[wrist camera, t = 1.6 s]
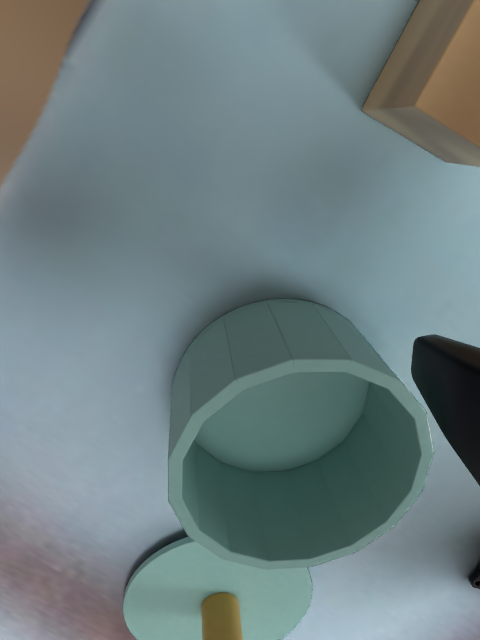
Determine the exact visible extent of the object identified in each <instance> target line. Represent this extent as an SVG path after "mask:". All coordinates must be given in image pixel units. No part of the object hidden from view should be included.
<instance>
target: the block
mask: <svg viewBox="0 0 480 640" xmlns="http://www.w3.org/2000/svg"><path fill="white" fill-rule="evenodd" d="M362 111H363V112H364V113H366V114H367V115H369V116H371V117H372V118H374V119H376V120H377V121H379V122H381V123H382V124H384V125H385V126H387V127H389V128H390V129H392V130H394V131H395V132H397V133H399V134H400V135H402V136H404V137H405V138H407V139H408V140H410V141H412V142H413V143H415V144H417V145H418V146H420V147H422V148H423V149H425V150H427V151H428V152H430V153H431V154H433V155H435V156H436V157H438V158H440V159H441V160H443V161H445V162H448V163H455V164H462V165H470V166H477V167H480V0H420V1H419V3H418V4H417V6H416V8H415V10H414V12H413V14H412V16H411V18H410V19H409V21H408V23H407V25H406V27H405V29H404V31H403V33H402V34H401V36H400V38H399V40H398V42H397V44H396V46H395V48H394V49H393V51H392V53H391V55H390V57H389V59H388V61H387V63H386V64H385V66H384V68H383V70H382V72H381V74H380V76H379V77H378V79H377V81H376V83H375V85H374V87H373V89H372V91H371V92H370V94H369V96H368V98H367V100H366V102H365V104H364V106H363V107H362Z"/></svg>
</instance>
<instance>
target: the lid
mask: <svg viewBox="0 0 480 640" xmlns="http://www.w3.org/2000/svg"><path fill="white" fill-rule="evenodd" d="M312 590H313V589H312V580H311V577H310V573H309V570H308V568H307V567H305V568H288V569H270V570H266V569H260V568H256V567H252V566H247V565H243V564H239V563H235V562H231V561H227V560H223V559H221V558H219V557H218V556H217V555H215V554H214V553H212V552H211V551H209V550H208V549H206V548H205V547H203V546H202V545H200V544H199V543H198V542H196V541H195V540H193V539H192V538H190V537H186V538H183V539H181V540H178V541H176V542H173V543H171V544H169V545H167V546H165V547H163V548H162V549H160V550H159V551H157V552H156V553H154V554H153V555H151V556H150V557H149V558H148V559H146V560H145V561H144V562H143V563H142V564H141V565H140V566H139V567H138V569H137V570H136V571H135V572H134V574H133V575H132V577H131V578H130V580H129V583H128V585H127V587H126V591H125V595H124V601H123V613H124V619H125V622H126V624H127V627H128V628H129V630H130V632H131V633H132V635H133V636H134V637H135V638H136V639H137V640H281V639H282V638H283V637H285V636H286V635H287V634H289V633H290V632H291V631H292V630H293V629H294V628H295V627H296V626H297V625H298V624H299V623H300V621H301V620H302V618H303V617H304V616H305V614H306V612H307V610H308V608H309V606H310V602H311V599H312Z"/></svg>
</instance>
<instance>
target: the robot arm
mask: <svg viewBox="0 0 480 640" xmlns="http://www.w3.org/2000/svg"><path fill="white" fill-rule="evenodd" d="M411 374H412V377H413V380H414V382H415V384H416V386H417V388H418V389H419V391H420V393H421V395H422V397H423V398H424V400H425V402H426V404H427V406H428V407H429V409H430V411H431V413H432V415H433V416H434V418H435V420H436V422H437V424H438V425H439V427H440V429H441V431H442V432H443V434H444V436H445V437H446V439H447V440H448V442H449V443H450V445H451V446H452V448H453V449H454V450H455V452H456V453H457V455H458V456H459V457H460V459H461V460H462V462H463V463H464V464H465V466H466V467H467V469H468V470H469V472H470V473H471V474H472V476H473V477H474V479H475V480H476V481H477V483H478V484H479V486H480V348H478V347H475V346H471V345H468V344H465V343H462V342H458V341H455V340H452V339H449V338H445V337H442V336H439V335H427V336H421V337H418V338H416V339H415V341H414V345H413V355H412V365H411ZM469 582H470V584H471V585H472V587H474V588H478V589H480V567H479V568H478V569H477V570H476V571H475V572H474V573H473V574H472V575H471V576H470V578H469Z"/></svg>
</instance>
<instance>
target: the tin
mask: <svg viewBox="0 0 480 640" xmlns="http://www.w3.org/2000/svg"><path fill="white" fill-rule="evenodd" d="M433 455H434V449H433V444H432V438H431V433H430V427H429V422H428V417H427V412H426V410H425V409H424V408H423V407H422V406H421V404H420V403H419V402H418V401H417V400H416V398H415V397H414V396H413V395H412V394H411V393H410V391H409V390H408V389H407V388H406V387H405V385H404V384H403V383H402V382H401V381H400V380H399V378H398V377H397V376H396V375H395V374H394V372H393V371H392V370H391V369H390V368H389V366H388V365H387V364H386V363H385V362H384V361H383V359H382V358H381V357H380V356H379V355H378V353H377V352H376V351H375V350H374V349H373V348H372V346H371V345H370V344H369V343H368V342H367V340H366V339H365V338H364V337H363V336H362V335H361V333H360V332H359V331H358V330H357V329H356V328H355V326H354V325H353V324H352V323H351V322H350V320H348V319H346V318H344V317H343V316H341V315H340V314H338V313H337V312H335V311H333V310H331V309H329V308H327V307H324V306H322V305H319V304H316V303H313V302H308V301H303V300H295V299H271V300H265V301H259V302H255V303H252V304H248V305H245V306H242V307H240V308H237V309H235V310H233V311H230V312H229V313H227V314H225V315H223V316H222V317H220V318H218V319H217V320H215V321H214V322H213V323H211V324H210V325H209V326H207V327H206V328H205V329H204V330H203V331H202V332H201V333H200V334H199V335H198V336H197V337H196V338H195V339H194V341H193V342H192V343H191V344H190V346H189V347H188V348H187V350H186V352H185V353H184V355H183V357H182V359H181V361H180V363H179V366H178V368H177V371H176V374H175V377H174V379H173V382H172V396H171V415H170V433H169V452H168V502H169V503H170V505H171V507H172V509H173V510H174V512H175V514H176V516H177V518H178V519H179V521H180V523H181V525H182V526H183V528H184V530H185V532H186V533H187V535H188V536H189V537H190V538H192V539H193V540H195V541H196V542H198V543H199V544H200V545H202V546H203V547H205V548H206V549H208V550H209V551H211V552H212V553H214V554H215V555H217V556H218V557H219V558H221V559H223V560H227V561H231V562H235V563H239V564H243V565H247V566H252V567H256V568H260V569H266V570H270V569H288V568H305V567H311V566H312V567H313V566H316V565H319V564H322V563H325V562H328V561H331V560H334V559H337V558H340V557H343V556H346V555H349V554H352V553H355V551H356V552H357V551H359V550H360V549H361V548H363V547H364V546H366V545H367V544H369V543H370V542H372V541H373V540H375V539H376V538H378V537H379V536H381V535H382V534H384V533H385V532H387V531H388V530H390V529H391V528H393V527H394V526H395V525H396V524H397V523H398V521H399V520H400V519H401V518H402V516H403V515H404V514H405V513H406V511H407V510H408V509H409V508H410V506H411V505H412V504H413V503H414V501H415V500H416V499H417V498H418V496H419V495H420V494H421V492H422V491H423V488H424V484H425V481H426V478H427V475H428V471H429V468H430V465H431V461H432V458H433Z"/></svg>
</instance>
